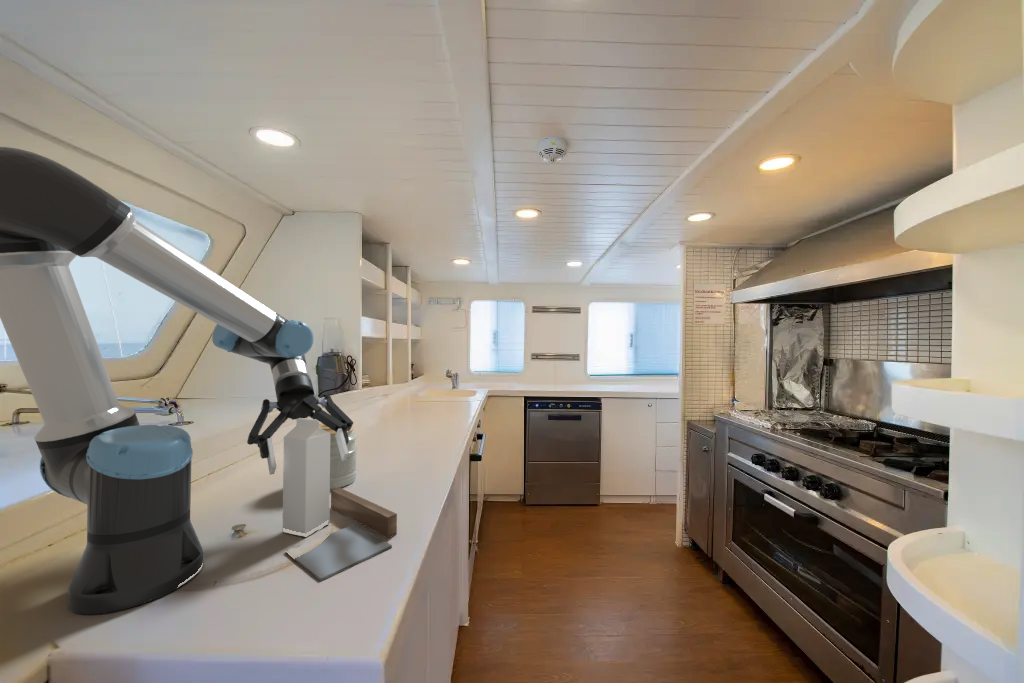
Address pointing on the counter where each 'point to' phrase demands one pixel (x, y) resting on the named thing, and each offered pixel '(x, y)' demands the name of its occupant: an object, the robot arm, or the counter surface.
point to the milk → (306, 476)
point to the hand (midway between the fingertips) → (311, 463)
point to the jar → (339, 469)
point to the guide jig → (350, 536)
